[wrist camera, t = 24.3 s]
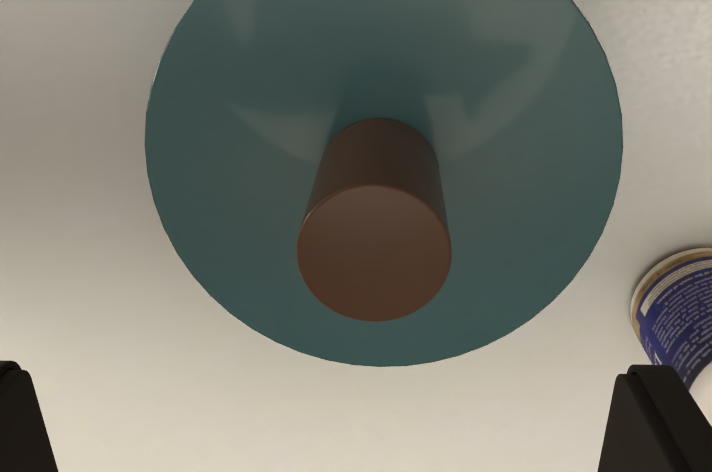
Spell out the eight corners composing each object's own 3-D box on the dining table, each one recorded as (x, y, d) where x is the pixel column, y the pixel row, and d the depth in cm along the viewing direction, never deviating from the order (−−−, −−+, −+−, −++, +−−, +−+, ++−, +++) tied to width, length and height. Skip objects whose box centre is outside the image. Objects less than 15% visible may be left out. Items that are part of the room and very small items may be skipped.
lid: (68, 162, 23) (-48, 251, 17) (380, -221, 17) (370, -287, 11) (379, 413, 27) (374, 556, 21) (709, 164, 21) (827, 262, 16)
